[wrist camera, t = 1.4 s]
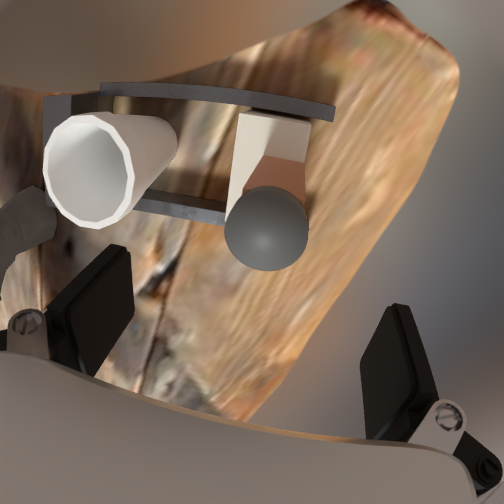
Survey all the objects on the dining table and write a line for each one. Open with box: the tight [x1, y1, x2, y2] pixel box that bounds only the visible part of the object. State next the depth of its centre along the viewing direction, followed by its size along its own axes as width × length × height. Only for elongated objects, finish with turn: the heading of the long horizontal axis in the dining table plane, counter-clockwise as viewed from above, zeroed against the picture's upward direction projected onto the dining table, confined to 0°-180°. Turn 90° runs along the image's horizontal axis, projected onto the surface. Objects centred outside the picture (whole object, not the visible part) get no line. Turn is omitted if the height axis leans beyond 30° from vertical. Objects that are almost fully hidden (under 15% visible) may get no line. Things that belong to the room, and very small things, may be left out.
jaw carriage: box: [224, 110, 311, 271], centre depth 25 cm, size 10×6×18 cm, turn 172°
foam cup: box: [43, 112, 178, 229], centre depth 28 cm, size 10×9×13 cm
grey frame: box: [43, 82, 336, 231], centre depth 30 cm, size 14×28×8 cm, turn 82°
